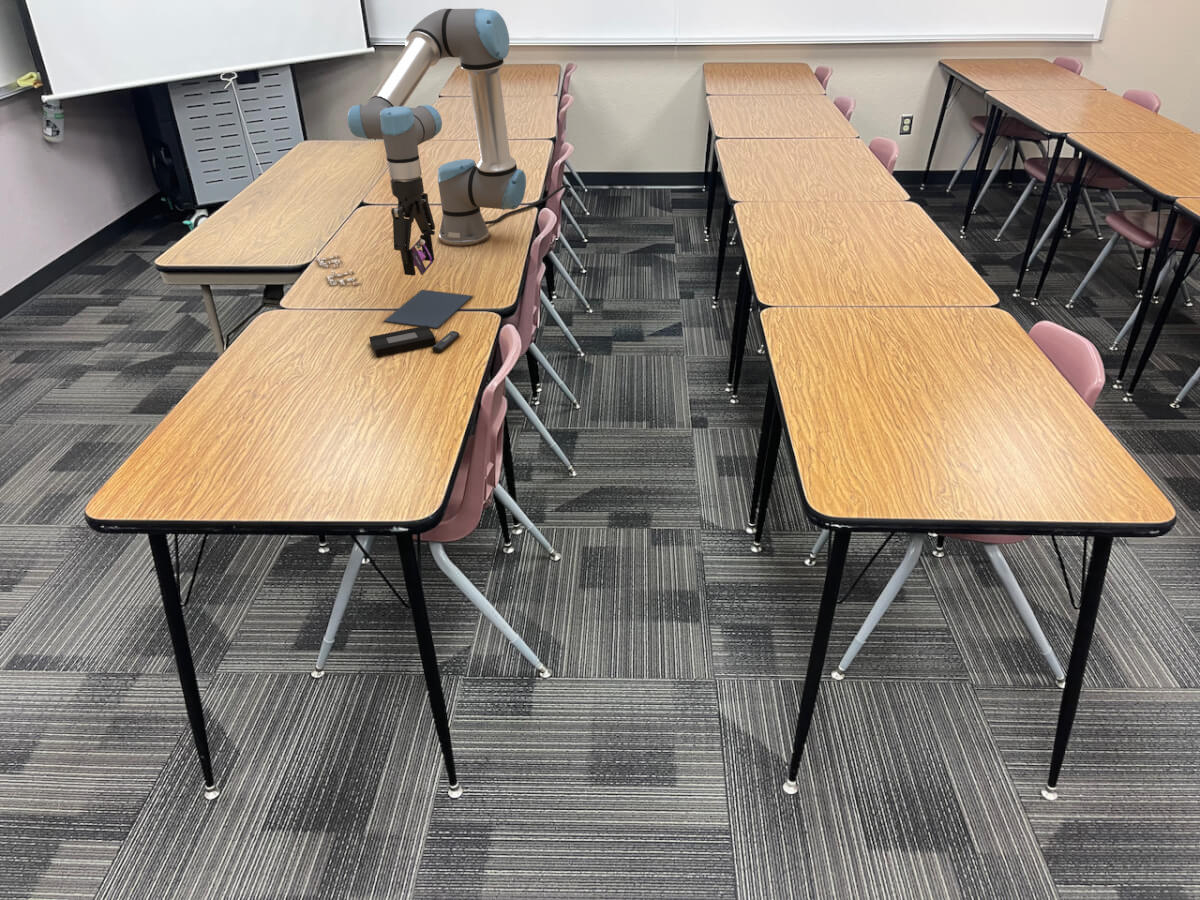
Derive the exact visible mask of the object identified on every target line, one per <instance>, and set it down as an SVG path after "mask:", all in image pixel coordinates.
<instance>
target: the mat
mask: <svg viewBox="0 0 1200 900" xmlns="http://www.w3.org/2000/svg"><path fill="white" fill-rule="evenodd" d="M472 297H473V296H472V295H470V294H469V295H468V294H459V293H452V292H451V293H450V292H443V291H435V290H427V289H421V290H420V291H418V292H417V293H416V294H415V295H414V296H413V297H411V298H410V299H409V300H407V301H406V302H405V303H404V304H402V306H400V307H399V308H398V309H397V310H395V311H394V312H393V313H392V314H390V315H389V316H388V317H387V318H386V319H384V323H388V324H389V323H390V324H396V325H397V324H398V325H405V326H412V327H421V326H426V325H428V327H429V328H430V329H435V330H438V329H439V328H440V327H441V326H442V325H443V324H444V323H446V321H448V320H449V319H450V318H451V317H452V316H453V315H455V313H457V311H459V310H460V309H461V308H462V307H463V306H464V305H465V304H466V303H467V302H469V301H470V300H471V299H472Z"/></svg>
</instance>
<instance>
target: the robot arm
mask: <svg viewBox="0 0 1200 900" xmlns="http://www.w3.org/2000/svg"><path fill="white" fill-rule="evenodd" d="M404 41H405V42H404V44H405V45H404V48H403V49H402V51H401V52H400V53H399V55H398V57H397V58H396V60H395V61H394V62H393V64H392V65H391V67H390V69H388V71H387V73H386V74H385V76H384V77H383V79H382V80H381V82H380V83H379V84H378V86H377V87H376V89H375V90H374V92H373V93H372V95H371V96H370V97H369V99H368V100H367V102H366V103H365V104H358V105H353V106H351V107H350V108H349V110H348V112H347V126H348V128H349V131H350V132H351V134H352V135H353V136H354V137H356V138H362V139H367V140H383V144H384V149H385V155H386V161H387V169H388V175H389V178H390V187H391V188H390V189H391V193H392V196H394V197H395V198H396V199H397V207H396V208H395V207H392V208H391V209H390V213H391V217H392V227H393V228H392V231H393V233H392V235H393V250H394V251H398V252H400V257H401V262H402V268H403V274H404V275H405V276H412V277H413V276H414V277H415V276H416V266H414V261H413V254H412V249H411V247H410V246H411V236H412V224H413V223H414V221H415V223H416V225H417V227H418V229H419V231H420V233H421V235H419V239H420V238H422V239H423V240H424V241H425V245H426V247H427V249H428V251H429V253H430V255H431V257H432V259H433V262H434V261H435V254H434V246H433V241H432V236H435V235H436V231H435V230H436V224H435V222H434V218H433V214H432V210H431V207H430V204H429V194H428V193H426V192H425V188H424V181H423V177H422V174H423V173H422V167H421V166H422V165H421V160H420V153H419V147H418V146H419V145H421V144H423V143H425V142H427V141H430V140H432V139H433V138H435V137H436V136H437V135H438V134H439V133H440V132H441V131H442V127H443V119H442V116H441V114H440V112H439V111H438V110H437V109H436V107H433V106H432V105H429V104H422V105H418V106H416V107H408V106H405V105H406V104H407V102H408V101H409V99H410V98H411V96H412V95H413V94H414V92H415V91H416V89H417V87H418V86H419V84H420V83H421V81H422V80H423V78H424V76H425V75H426V74H427V72H428V70H429V69H430V67H434V66H436V65H437V64H438V63H439V61H440V60H442V59H444V58H445V59H446V58H455V59H457V58H459V63H460V68H461V69H462V70H463V71H464V72H465V73H467V78H468V83H469V89H470V96H471V102H472V108H473V109H472V110H473V115H474V122H475V123H474V124H475V129H476V130H475V131H476V135H477V142H478V150H479V155H480V160H479V161H478V162H477V163H476V161H475V160H474V159H472V158H464V159H456V160H451V161H448V162H446V163H443V164H442V165H440V166H439V167H438V169H437V184H438V190H439V192H438V193H439V197H440V205H441V213H442V216H441V222H440V228H439V240H440V242H441V243H442V244H444V245H448V246H453V247H454V246H455V247H466V246H473V245H477V244H480V243H483V242H485V241H486V240H488V239H489V236H490V234H489V233H490V232H489V229H488V225H491V224H495V223H498V222H500V221H501V220H502V219H504V218H506V217H508V216H510V215H513V214H517V213H520V212H523V211H526V210H528V209H531V208H533V207H536V206H539V205H541V204H542V203H544V202H547V201H548V200H549V199H551V198H553V197H554V196H555V195H556V194H557V193H558V192H560V191H562V190H563V189H565V188H568V189H572V186H571V185H569V184H567V183H566V184H563V185H562V186H560V187H558V188H557V189H555V190H554V191H553V192H551V193H550V194H549V195H547V196H545V197H544V198H543V199H541V200H538V201H536V202H534V203H531V204H529V205H526V206H524V207H521V208H519V206H521V204H522V202H523V200H524V197H525V194H526V189H527V188H526V187H527V176H526V173H525V171H524V170H523V169H521V168H518V166H517V160H516V159H515V158H514V157H513V156H511V151H510V144H509V135H508V128H507V121H506V112H505V106H504V97H503V90H502V89H503V88H502V82H501V74H500V69H501V68H502V67H503V66H504V64H505V61H504V60H505V59H506V58H507V57H508V55H509V52H510V46H509V45H510V35H509V29H508V26H507V24H506V21H505V20H504V17H503V16H502V15H501V14H500V13H499V12H498V11H496V10H494V9H485V8H482V7H481V8H442V9H438V10H436V11H434V12H432V13H430V14H428V15H426V16H424V17H423V18H422V19H421V20H420V21H419V22H418V23H417V24H416V25H415V26H414V27H413V28H412V29H411V31H410V32H409V33H408V35H407V36H406V37H405V40H404ZM481 208H483V209H484V208H485V209H494V210H495V209H496V210H502V211H506V210H511V211H508V212H505V213H503V214H501V215H500V216H499V217H497V218H496V219H492V220H485V219H484V217H483V215H482V212H481ZM421 251H423V252H425V256H426V258H425V259H424V261H426V262H427V261H428V262H430V261H429V260H430V258H429V256H428V254H427V252H426V250H425V248H424V247H423V245H422V246H421Z"/></svg>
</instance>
